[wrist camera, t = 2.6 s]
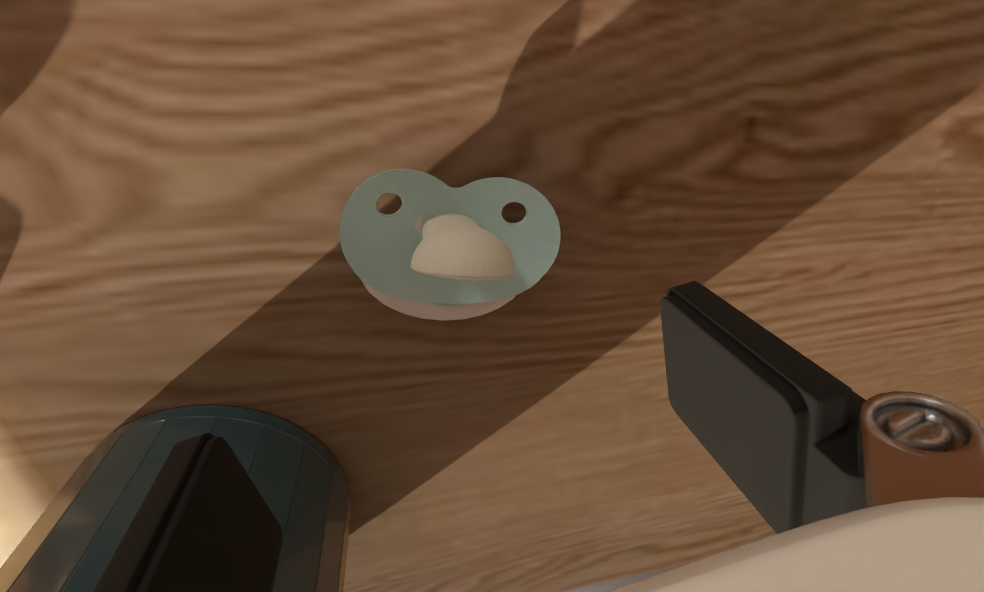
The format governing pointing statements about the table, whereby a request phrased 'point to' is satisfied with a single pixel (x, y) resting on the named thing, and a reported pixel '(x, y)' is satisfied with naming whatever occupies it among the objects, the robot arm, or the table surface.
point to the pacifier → (447, 243)
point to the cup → (133, 469)
